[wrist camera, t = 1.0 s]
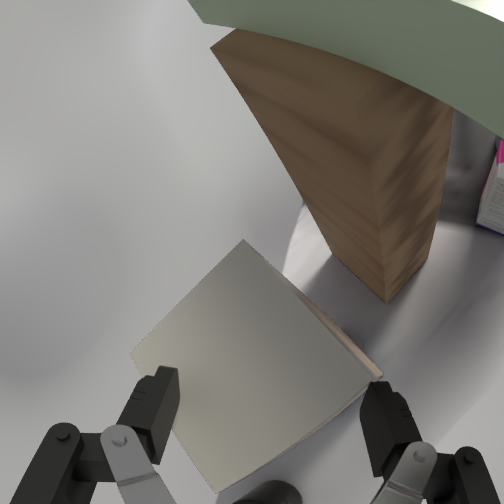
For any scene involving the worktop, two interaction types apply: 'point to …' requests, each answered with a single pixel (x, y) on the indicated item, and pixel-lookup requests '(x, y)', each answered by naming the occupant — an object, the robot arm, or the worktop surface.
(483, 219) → the supplement box
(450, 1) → the long brick
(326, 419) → the brick tower
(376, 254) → the walnut stand
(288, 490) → the supplement bottle
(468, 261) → the worktop surface
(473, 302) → the worktop surface
